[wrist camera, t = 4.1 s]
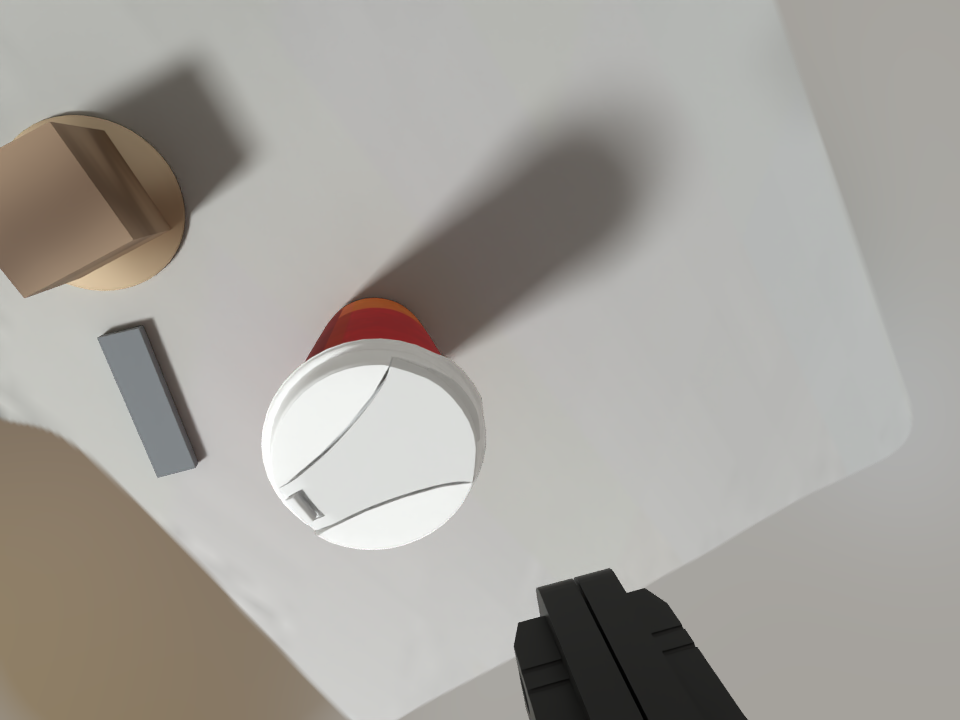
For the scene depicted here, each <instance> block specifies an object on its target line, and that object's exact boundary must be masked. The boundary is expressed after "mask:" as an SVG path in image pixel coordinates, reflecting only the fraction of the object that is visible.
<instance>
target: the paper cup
mask: <svg viewBox="0 0 960 720" xmlns="http://www.w3.org/2000/svg"><path fill="white" fill-rule="evenodd" d="M485 448H486V428H485V422H484V416H483V406H482V398H481V396H480V394H479V392H478V391H477V389H476V387H475V385H474V383H473V382H472V381H471V380H470V378H469V377H468V376H467V375H466V373H465V372H464V371H463V370H462V369H461V368H460V367H459V366H458V365H457V364H456V363H454V362H453V361H452V360H451V359H449V358H446V357H444V356H441V354H440V352H439V351H438V349H437V348H436V346H435V344H434V343H433V341H432V340H431V338H430V336H429V335H428V333H427V332H426V330H425V329H424V327H423V326H422V324H421V323H420V322H419V320H418V319H417V318H416V317H415V316H414V315H413V314H412V313H411V312H410V311H409V310H408V309H407V308H405V307H404V306H402V305H401V304H399V303H397V302H394V301H391V300H388V299H383V298H365V299H361V300H357V301H355V302H352V303H350V304H348V305H346V306H345V307H343V308H342V309H341V310H340V311H338V312H337V313H336V314H335V315H334V317H333V318H332V319H331V320H330V322H329V323H328V324H327V326H326V327H325V329H324V331H323V332H322V334H321V335H320V337H319V339H318V340H317V342H316V344H315V345H314V347H313V349H312V351H311V352H310V354H309V356H308V357H307V359H306V361H305V362H304V363H303V364H302V365H300V366H299V367H298V368H296V369H295V371H294V372H293V373H292V374H291V375H290V376H289V377H288V378H287V379H286V380H285V381H284V382H283V384H282V385H281V387H280V388H279V390H278V391H277V393H276V394H275V396H274V398H273V400H272V402H271V404H270V406H269V409H268V411H267V414H266V418H265V422H264V426H263V431H262V454H263V462H264V466H265V469H266V472H267V476H268V478H269V480H270V482H271V484H272V486H273V488H274V490H275V492H276V493H277V495H278V496H279V498H280V499H281V500H282V502H283V503H284V504H285V505H286V506H287V507H288V508H289V509H290V510H291V511H292V512H293V513H294V514H295V515H296V516H297V517H298V518H299V519H301V520H302V521H303V522H304V523H305V525H307V524H308V525H309V526H311V527H312V528H313V529H314V530H315V535H317V536H319V537H321V538H323V539H325V540H327V541H329V542H331V543H334V544H337V545H341V546H344V547H349V548H355V549H364V550H379V549H389V548H394V547H398V546H403V545H406V544H409V543H411V542H414V541H417V540H419V539H421V538H423V537H425V536H427V535H428V534H430V533H432V532H434V531H435V530H436V529H438V528H439V527H440V526H442V525H443V524H444V523H446V522H447V521H448V520H449V519H450V518H451V517H452V516H453V515H454V514H455V513H456V512H457V510H458V509H459V508H460V506H461V505H462V504H463V502H464V501H465V499H466V497H467V496H468V494H469V492H470V490H471V488H472V486H473V484H474V482H475V481H476V479H477V477H478V475H479V472H480V469H481V466H482V463H483V459H484V453H485Z"/></svg>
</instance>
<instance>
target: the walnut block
mask: <svg viewBox="0 0 960 720" xmlns="http://www.w3.org/2000/svg"><path fill="white" fill-rule="evenodd" d="M170 230H171V227H170V226H169V224H168V223H167V221H166V220H165V219H164V217H163V216H162V214H161V213H160V211H159V210H158V208H157V207H156V205H155V204H154V202H153V201H152V199H151V198H150V197H149V195H148V194H147V192H146V191H145V189H144V188H143V186H142V185H141V183H140V182H139V180H138V179H137V178H136V176H135V175H134V173H133V172H132V170H131V169H130V167H129V166H128V164H127V163H126V161H125V160H124V158H123V157H122V156H121V154H120V153H119V151H118V150H117V148H116V147H115V145H114V144H113V142H112V141H111V139H110V138H109V136H108V135H107V134H106V132H105V131H104V130H99V129H92V128H86V127H80V126H74V125H68V124H62V123H55V122H48V123H46V124H44V125H42V126H40V127H38V128H36V129H34V130H33V131H31V132H29V133H27V134H25V135H23V136H21V137H19V138H18V139H16V140H14V141H12V142H10V143H8V144H6V145H4V146H3V147H1V148H0V269H1V270H2V271H3V272H4V274H5V275H6V276H7V277H8V279H9V280H10V281H11V282H12V284H13V285H14V286H15V287H16V289H17V290H18V291H19V292H20V293H21V295H22V296H23V297H24V298H27V297H29V296H32V295H35V294H38V293H41V292H43V291H46V290H49V289H52V288H55V287H57V286H60V285H63V284H66V283H69V282H71V281H74V280H77V279H80V278H82V277H84V276H85V275H87V274H89V273H91V272H93V271H95V270H97V269H99V268H100V267H102V266H104V265H106V264H108V263H110V262H112V261H114V260H115V259H117V258H119V257H121V256H123V255H125V254H127V253H128V252H130V251H132V250H134V249H136V248H138V247H140V246H142V245H143V244H145V243H147V242H149V241H151V240H153V239H155V238H156V237H158V236H160V235H162V234H164V233H166V232H168V231H170Z"/></svg>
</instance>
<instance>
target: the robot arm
mask: <svg viewBox="0 0 960 720" xmlns="http://www.w3.org/2000/svg"><path fill="white" fill-rule="evenodd" d="M536 593H537V600H538V605H539V611H540V617H538V618H534V619H530V620H527V621H523V622H519V623H518V627H517V632H516V637H515V643H514V650H515V655H516V660H517V665H518V670H519V675H520V680H521V685H522V690H523V695H524V700H525V705H526V709H527V713H528V716H529V720H747V718H746V717H745V716H744V714H743V713H742V712H741V710H740V709H739V707H738V706H737V705H736V703H735V701H734V700H733V699H732V697H731V696H730V694H729V693H728V691H727V690H726V688H725V687H724V685H723V684H722V683H721V681H720V679H719V678H718V677H717V675H716V674H715V672H714V671H713V669H712V668H711V666H710V665H709V664H708V662H707V661H706V659H705V658H704V656H703V655H702V653H701V652H700V650H699V649H698V647H695V645H694V642H693V640H692V639H691V637H690V636H689V634H688V633H687V631H686V630H685V629H683V627H682V624H681V623H680V621H679V620H678V618H677V617H676V615H675V614H674V613H673V611H672V610H671V608H670V607H669V605H668V604H667V603H666V602H664V601H663V600H661V599H660V598H659V597H657V596H656V595H654V594H653V593H651V592H650V591H648V590H647V589H645V588H643V589H640V590H636V591H632V592H629V593H626V591H625V590H624V588H623V586H622V585H621V583H620V581H619V580H618V578H617V577H616V575H615V573H614V572H613V571H612V569H610V568H608V569H605V570H601V571H597V572H593V573H590V574H586V575H582V576H578V577H575V578H574V580H573V579H568V580H564V581H560V582H557V583H553V584H549V585H545V586H542V587H538V588H536Z"/></svg>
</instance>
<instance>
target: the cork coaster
mask: <svg viewBox="0 0 960 720" xmlns="http://www.w3.org/2000/svg"><path fill="white" fill-rule="evenodd" d="M48 122H55V123H62V124H68V125H74V126H80V127H86V128H92V129H99V130H104V131H105V132H106V134H107V135H108V136H109V138H110V139H111V141H112V142H113V144H114V145H115V147H116V148H117V150H118V151H119V153H120V154H121V156H122V157H123V158H124V160H125V161H126V163H127V164H128V166H129V167H130V169H131V170H132V172H133V173H134V175H135V176H136V178H137V179H138V180H139V182H140V183H141V185H142V186H143V188H144V189H145V191H146V192H147V194H148V195H149V197H150V198H151V199H152V201H153V202H154V204H155V205H156V207H157V208H158V210H159V211H160V213H161V214H162V216H163V217H164V219H165V220H166V221H167V223H168V224H169V226H170V227H171V230H170V231H168V232H166V233H164V234H162V235H160V236H158V237H156V238H155V239H153V240H151V241H149V242H147V243H145V244H143V245H142V246H140V247H138V248H136V249H134V250H132V251H130V252H128V253H127V254H125V255H123V256H121V257H119V258H117V259H115V260H114V261H112V262H110V263H108V264H106V265H104V266H102V267H100V268H99V269H97V270H95V271H93V272H91V273H89V274H87V275H85V276H84V277H82V278H80V279H77V280H74V281H71V282H69V283H66V284H69V285H73V286H76V287H79V288H84V289H89V290H100V291H108V290H119V289H125V288H128V287H132V286H135V285H138V284H140V283H142V282H144V281H146V280H148V279H150V278H152V277H153V276H155V275H156V274H158V273H159V272H160V271H161V270H162V269H163V268H165V266H166V265H167V264H168V263H169V262H170V261H171V259H172V258H173V256H174V255H175V253H176V252H177V250H178V247H179V245H180V243H181V240H182V236H183V233H184V226H185V207H184V200H183V196H182V193H181V189H180V186H179V184H178V182H177V179H176V177H175V175H174V174H173V172H172V170H171V168H170V167H169V165H168V164H167V163H166V161H165V160H164V159H163V157H162V156H161V155H160V154H159V153H158V152H157V151H156V150H155V148H154V147H153V146H151V145H150V144H149V143H148V142H147V141H145V140H144V139H143V138H142V137H140V136H139V135H137V134H136V133H134V132H133V131H131V130H129V129H127V128H125V127H123V126H121V125H119V124H116V123H114V122H111V121H108V120H104V119H100V118H96V117H90V116H83V115H65V116H57V117H53V118H49V119H45V120H43V121H40V122H38V123H36V124H33V125H32V126H30V127H29V128H27V129H25V130H24V131H23V132H21V133H20V134H19V135H18V136H17V137H16V138H15V139H14V140H16V139H18V138H19V137H21V136H23V135H25V134H27V133H29V132H31V131H33V130H34V129H36V128H38V127H40V126H42V125H44V124H46V123H48ZM14 140H13V141H14Z"/></svg>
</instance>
